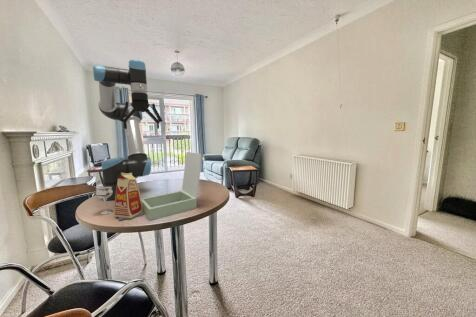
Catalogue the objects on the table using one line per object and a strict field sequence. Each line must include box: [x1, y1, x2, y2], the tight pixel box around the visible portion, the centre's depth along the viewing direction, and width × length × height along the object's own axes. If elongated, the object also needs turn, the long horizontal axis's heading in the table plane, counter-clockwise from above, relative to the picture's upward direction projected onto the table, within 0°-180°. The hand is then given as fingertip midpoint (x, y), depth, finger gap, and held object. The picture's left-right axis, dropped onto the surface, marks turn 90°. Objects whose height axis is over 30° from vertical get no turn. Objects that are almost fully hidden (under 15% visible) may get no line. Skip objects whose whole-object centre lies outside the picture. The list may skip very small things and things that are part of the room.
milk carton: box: [113, 173, 143, 219], centre depth 91 cm, size 9×9×20 cm
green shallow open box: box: [141, 190, 197, 221], centre depth 99 cm, size 18×22×5 cm
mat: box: [117, 211, 145, 222], centre depth 92 cm, size 10×10×1 cm
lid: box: [181, 151, 205, 199], centre depth 106 cm, size 18×22×2 cm
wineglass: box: [95, 186, 113, 215], centre depth 95 cm, size 7×7×12 cm
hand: (142, 135), depth 103 cm, fingers open, 13 cm apart
